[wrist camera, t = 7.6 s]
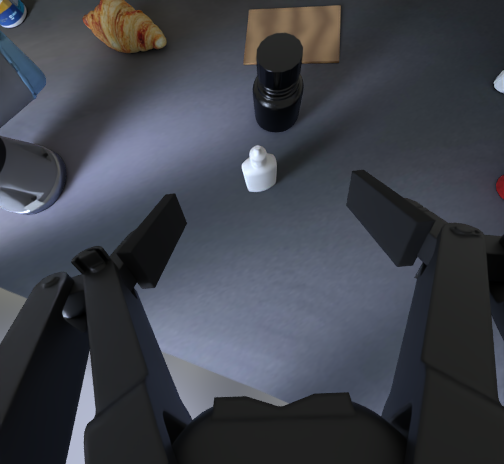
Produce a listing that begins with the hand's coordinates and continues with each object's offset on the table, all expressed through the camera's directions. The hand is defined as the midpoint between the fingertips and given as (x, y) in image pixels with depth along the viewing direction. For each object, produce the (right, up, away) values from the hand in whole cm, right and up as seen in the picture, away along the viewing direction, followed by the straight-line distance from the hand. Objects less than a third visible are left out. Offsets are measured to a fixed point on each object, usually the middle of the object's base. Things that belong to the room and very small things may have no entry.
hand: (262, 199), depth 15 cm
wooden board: (+8, +40, +27) cm, 49 cm away
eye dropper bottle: (+1, +7, +23) cm, 24 cm away
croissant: (-30, +43, +31) cm, 61 cm away
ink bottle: (+4, +22, +25) cm, 33 cm away
